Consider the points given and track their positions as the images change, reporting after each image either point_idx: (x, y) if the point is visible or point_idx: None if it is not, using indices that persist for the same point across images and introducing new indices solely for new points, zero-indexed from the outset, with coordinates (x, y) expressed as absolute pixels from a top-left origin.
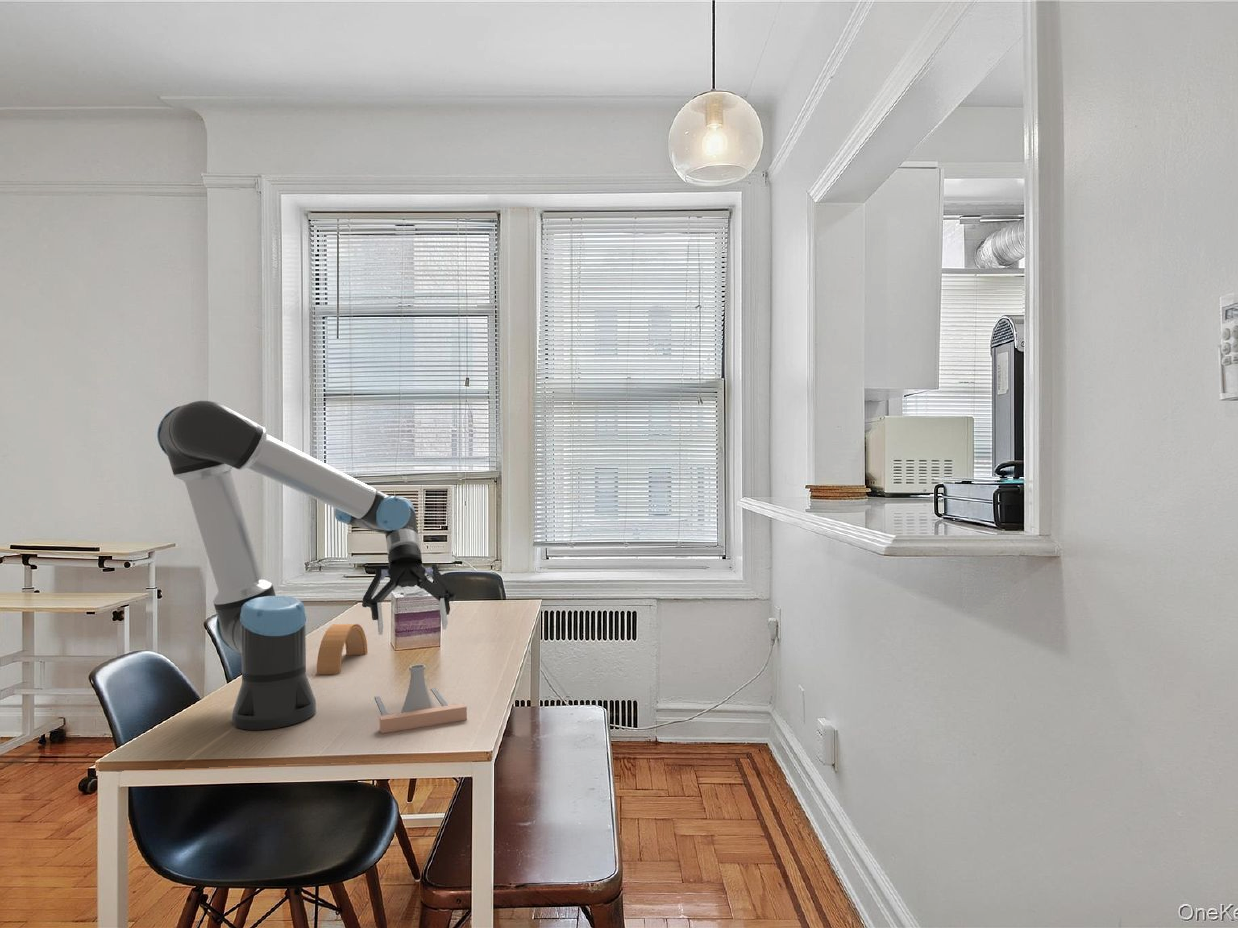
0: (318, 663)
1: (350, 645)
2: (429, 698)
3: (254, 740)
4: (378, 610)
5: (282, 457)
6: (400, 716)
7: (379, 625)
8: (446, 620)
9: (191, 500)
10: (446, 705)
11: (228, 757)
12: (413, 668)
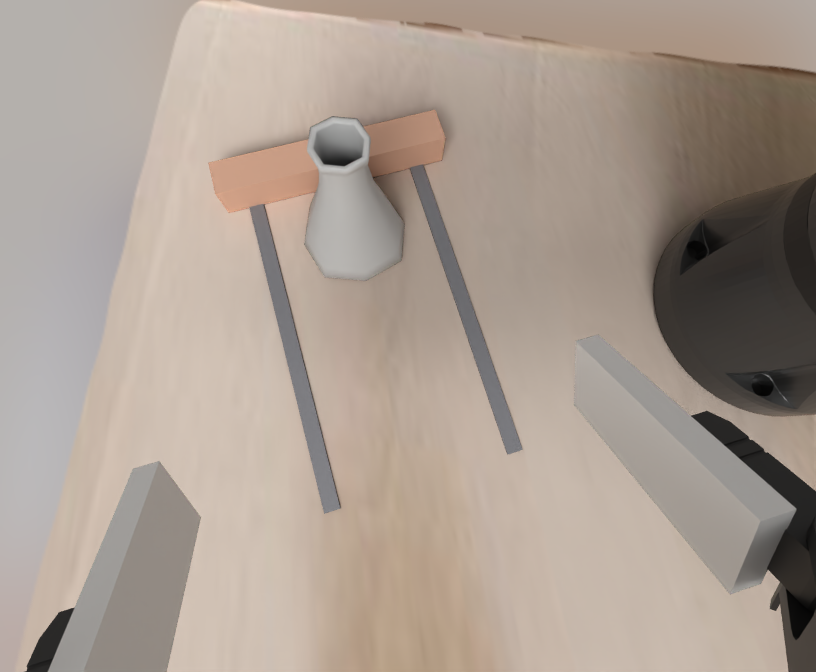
0: None
1: None
2: (314, 202)
3: (722, 151)
4: (704, 429)
5: None
6: (388, 125)
7: (607, 344)
8: (137, 478)
9: None
10: (279, 308)
11: (726, 68)
12: (351, 118)
